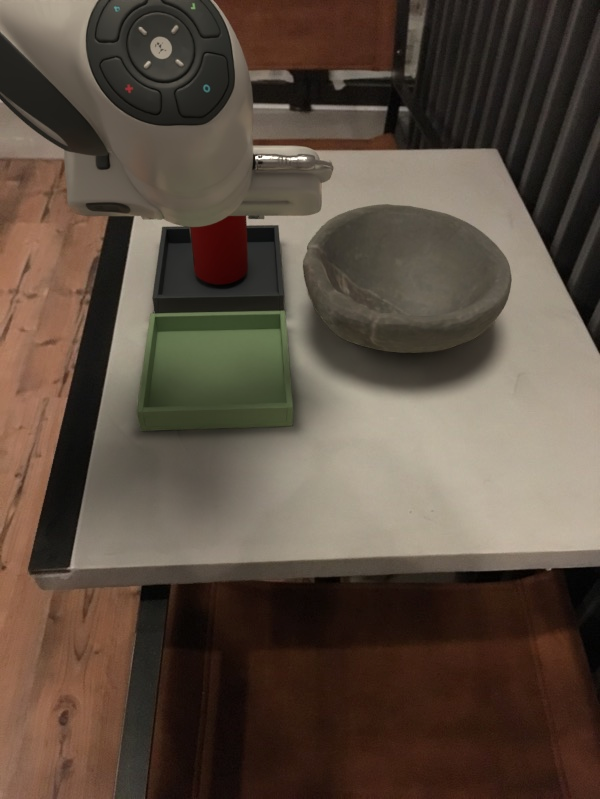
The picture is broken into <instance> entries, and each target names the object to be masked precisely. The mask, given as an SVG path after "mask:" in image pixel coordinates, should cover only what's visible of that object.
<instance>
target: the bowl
mask: <svg viewBox="0 0 600 799" xmlns="http://www.w3.org/2000/svg"><path fill="white" fill-rule="evenodd" d="M510 265H511V264H510V263H509V260H508V258H507V257H506V255H505V253H504V252H503V251H502V250H501V249H500V247H499V246H498V244H497V243H495V242H494V241H493V240H492V239H491V238H490V237H489V236H488V235H486V233H484V232H482V230H480V229H479V228H477V227H476V226H474V225H472V224H471V223H469V222H468V221H466V220H463V219H461V218H459V217H456V216H454V215H451V214H449V213H446V212H442V211H437V210H432V209H428V208H423V207H418V206H412V205H400V204H388V203H385V204H372V205H367V206H362V207H357V208H354V209H351V210H348V211H345V212H342V213H339V214H337V215H335V216H333V217H332V218H329V219H328V220H327V221H326V222H325V223H324V224H323V225H321V226H320V228H318V230H317V231H316V232H315V233H314V235H313V236H312V237H311V239H310V240H309V242H308V244H307V247H306V252H305V255H304V257H303V260H302V270H303V279H304V283H305V287H306V291H307V293H308V296H309V299H310V301H311V303H312V305H313V307H314V309H315V311H316V313H317V314H318V316H319V317H320V318H321V319H322V321H323V322H324V323H325V325H327V327H329V329H330V330H331V331H332V332H333V333H334V334H335V335H337V336H338V337H339V338H340V339H342V340H344V341H347V342H349V343H352V344H355V345H358V346H362V347H364V348H369V349H373V350H379V351H383V352H390V353H400V354H407V353H408V354H409V353H411V354H413V353H414V354H417V353H419V354H420V353H421V354H423V353H433V352H440V351H444V350H447V349H452V348H454V347H457V346H460V345H463V344H465V343H468V342H470V341H473V340H474V339H475V338H477V337H479V336H480V335H482V334H483V333H484V332H486V330H488V329H489V328H490V327H491V326H492V325H493V324H494V322H495V321H496V320H497V319H498V317H500V315H501V313H502V312H503V310H504V308H505V307H506V305H507V302H508V300H509V297H510V293H511V287H512V280H513V278H512V271H511V266H510Z"/></svg>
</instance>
